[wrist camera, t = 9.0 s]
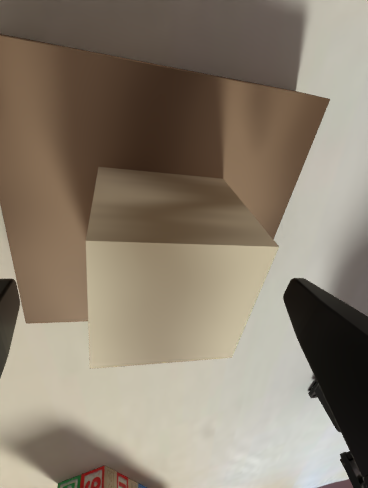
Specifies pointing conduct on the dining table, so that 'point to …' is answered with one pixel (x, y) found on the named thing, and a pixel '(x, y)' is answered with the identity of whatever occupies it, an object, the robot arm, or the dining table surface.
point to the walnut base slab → (127, 151)
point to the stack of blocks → (100, 480)
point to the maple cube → (170, 268)
